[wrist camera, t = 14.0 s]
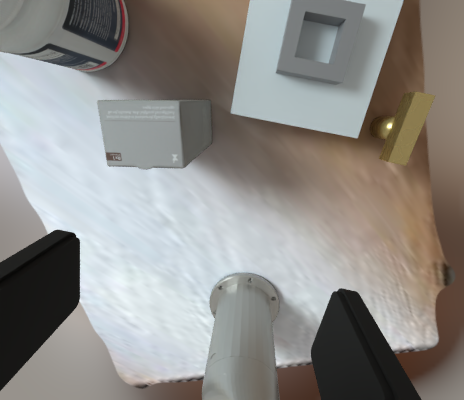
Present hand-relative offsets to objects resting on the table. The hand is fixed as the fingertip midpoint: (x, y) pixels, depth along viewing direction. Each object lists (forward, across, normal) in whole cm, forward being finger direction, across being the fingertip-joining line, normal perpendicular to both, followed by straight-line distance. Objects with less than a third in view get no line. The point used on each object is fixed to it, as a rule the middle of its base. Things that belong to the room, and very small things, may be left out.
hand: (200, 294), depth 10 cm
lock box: (+32, -6, -15) cm, 36 cm away
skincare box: (+32, +9, -3) cm, 34 cm away
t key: (+32, -19, -8) cm, 38 cm away
